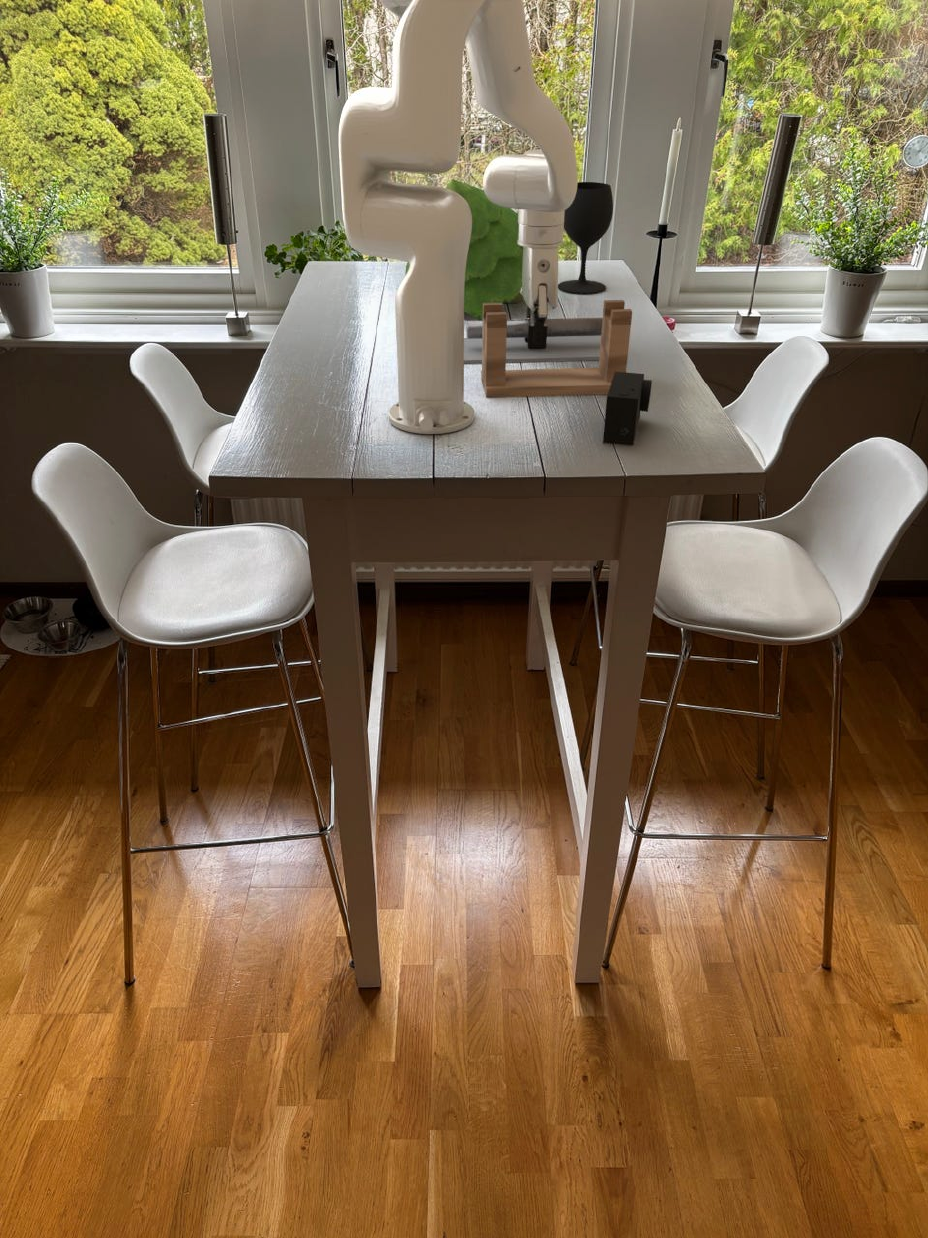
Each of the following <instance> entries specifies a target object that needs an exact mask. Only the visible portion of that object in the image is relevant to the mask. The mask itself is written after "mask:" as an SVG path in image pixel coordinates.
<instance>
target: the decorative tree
mask: <svg viewBox="0 0 928 1238" xmlns="http://www.w3.org/2000/svg"><path fill="white" fill-rule="evenodd" d="M445 188H447V189H450V190H452V191H454V192H456V193H458V194H459V195H461V196H462V197H463V198H464V199H465V201H466V202H467V203H468V205H469V208H470V210H471V214H472V231H471V238H470V243H469V249H468V255H467V261H466V270H465V284H464V313H467V314H468V315H470V316H471V317H474V318H476V319H478V320H481V318H483V303H502V304H505V302H506V303H507V304H514V303H519V302H523V301H525V300H524V298H523V294H522V293H521V292H520V291H522V265H523V247H524V246H521V245H519V244H517V233H518V212H516V211H514V210H513V208H505V207H500V206H497V205H495V204H493V203H492V202H490V201H489V199H488V198H487V197H486V195H485V192H484V189H481V188H479V187H477V186H476V187H475V186H474V185H471V184H467V183H465V182H462V181H459V180H458V179H457V180H456V179H453V178H451V180H450V181H449V183H448V184H447V186H446V187H445ZM409 267H410V263H409V262H406V266H405V273H404V276H405V275H406V274H407V272H408V270H409Z"/></svg>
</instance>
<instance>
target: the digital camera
mask: <svg viewBox="0 0 928 1238" xmlns="http://www.w3.org/2000/svg"><path fill="white" fill-rule="evenodd" d="M652 381H653V380H652V379H645V374H644V373H637V372H628V371H626V372H615V373H614V376H613V379H612V382H611V386H610V389H609V392H608V394H606V404H605V415H604V424H603V425H604V426H603V427H604V428H603V440H602V443H603V444H610V445H619V446H620V445H621V446H634V445H635V439H636V435H637V432H638V426H639V422H640V416H641V412H648V411H649V407H650V400H651V393H652V384H653V382H652Z"/></svg>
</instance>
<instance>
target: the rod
mask: <svg viewBox="0 0 928 1238" xmlns="http://www.w3.org/2000/svg"><path fill="white" fill-rule="evenodd" d="M602 322H603V317H579V318H578V317H576V318H575V317H574V318H573V317H572V318H571V317H570V318H547V337H568V336H601V334H602ZM528 325H530V319H529V318H525V319H507V335H506V338H525V337H528ZM482 331H483V319H478V320H477V319H475V320H474V319H473V320H466V338H467V339H482Z"/></svg>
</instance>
